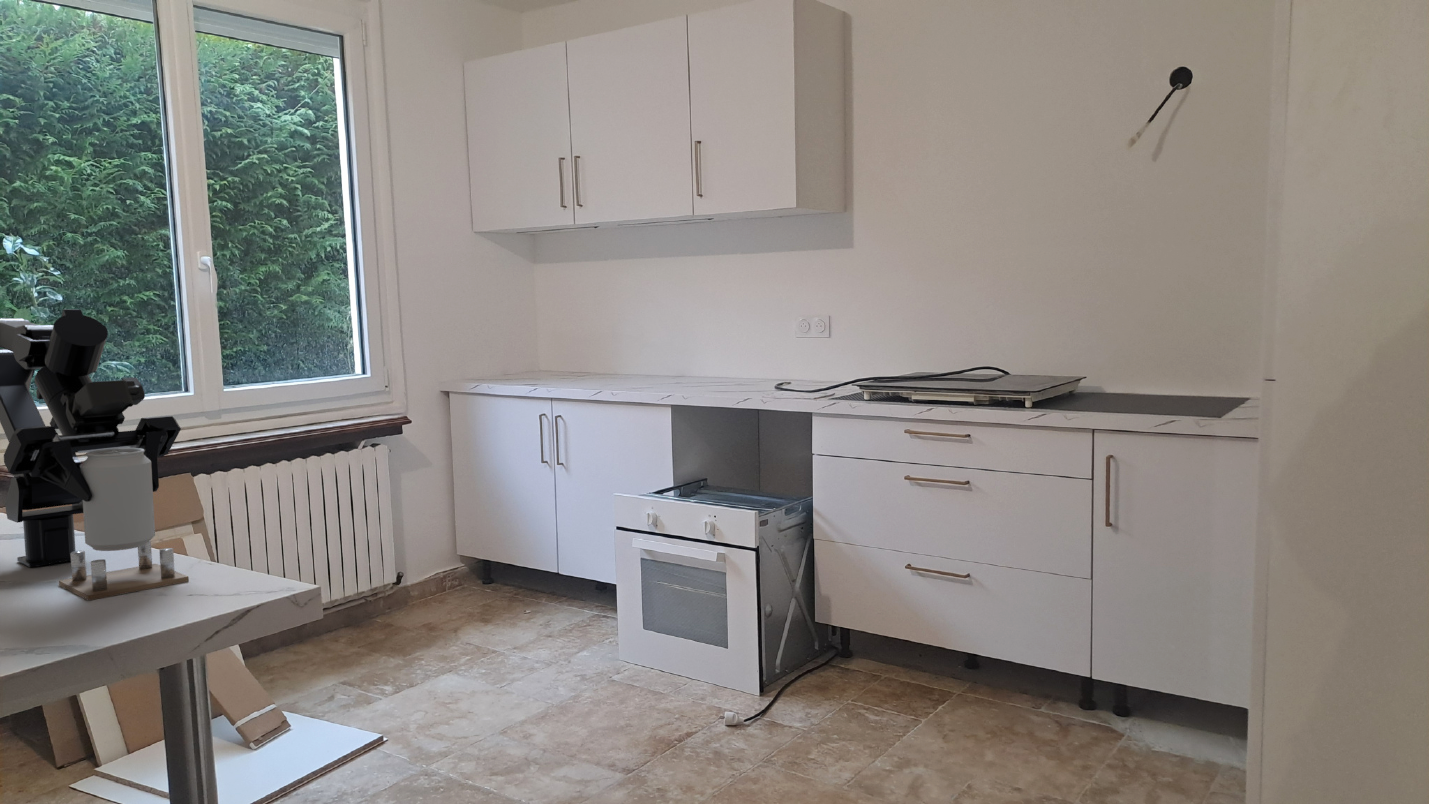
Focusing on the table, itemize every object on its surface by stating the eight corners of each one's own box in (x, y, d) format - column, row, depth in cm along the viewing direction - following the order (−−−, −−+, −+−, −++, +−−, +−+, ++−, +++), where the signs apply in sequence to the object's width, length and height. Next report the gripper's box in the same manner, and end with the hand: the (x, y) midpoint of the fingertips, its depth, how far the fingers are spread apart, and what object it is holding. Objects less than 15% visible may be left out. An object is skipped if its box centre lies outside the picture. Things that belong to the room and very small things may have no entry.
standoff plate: (59, 585, 121) (56, 552, 120) (155, 568, 129) (153, 537, 129) (88, 600, 113) (86, 565, 113) (188, 581, 122) (186, 548, 121)
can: (122, 553, 117) (117, 454, 116) (70, 551, 118) (63, 453, 117) (169, 540, 124) (164, 446, 123) (119, 537, 125) (113, 445, 124)
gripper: (8, 360, 113) (60, 461, 108) (169, 354, 129) (221, 443, 124) (-18, 423, 118) (31, 523, 113) (140, 411, 134) (189, 498, 129)
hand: (123, 494), depth 120 cm, fingers closed on can, 7 cm apart
